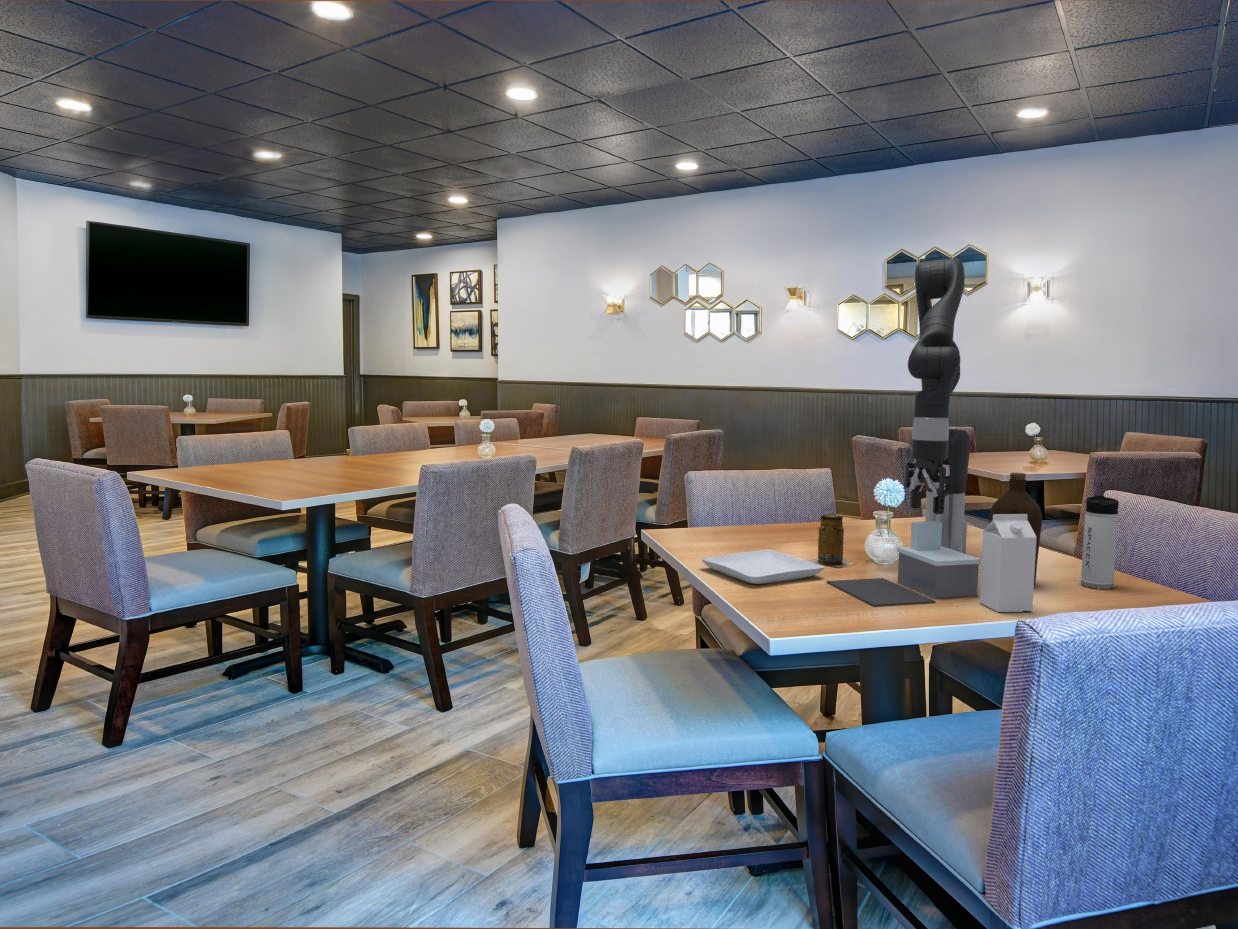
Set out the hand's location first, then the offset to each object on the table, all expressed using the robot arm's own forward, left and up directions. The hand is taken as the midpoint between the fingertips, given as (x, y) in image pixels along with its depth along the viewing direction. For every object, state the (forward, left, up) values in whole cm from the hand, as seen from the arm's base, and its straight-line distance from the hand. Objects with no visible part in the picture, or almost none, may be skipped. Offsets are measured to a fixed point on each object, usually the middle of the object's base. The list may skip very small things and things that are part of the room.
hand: (926, 510), depth 180 cm
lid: (0, +5, -11) cm, 12 cm away
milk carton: (-5, +21, -17) cm, 27 cm away
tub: (0, +5, -17) cm, 17 cm away
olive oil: (-20, +4, -17) cm, 26 cm away
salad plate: (+32, -16, -17) cm, 40 cm away
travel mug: (-37, +10, -17) cm, 42 cm away
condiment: (+10, -23, -17) cm, 31 cm away
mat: (+14, +5, -17) cm, 22 cm away
